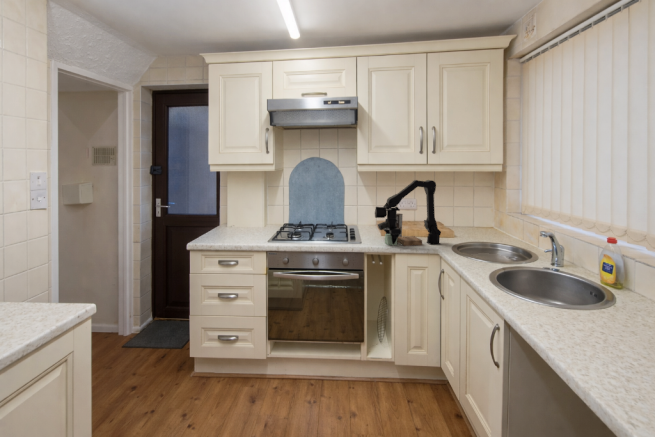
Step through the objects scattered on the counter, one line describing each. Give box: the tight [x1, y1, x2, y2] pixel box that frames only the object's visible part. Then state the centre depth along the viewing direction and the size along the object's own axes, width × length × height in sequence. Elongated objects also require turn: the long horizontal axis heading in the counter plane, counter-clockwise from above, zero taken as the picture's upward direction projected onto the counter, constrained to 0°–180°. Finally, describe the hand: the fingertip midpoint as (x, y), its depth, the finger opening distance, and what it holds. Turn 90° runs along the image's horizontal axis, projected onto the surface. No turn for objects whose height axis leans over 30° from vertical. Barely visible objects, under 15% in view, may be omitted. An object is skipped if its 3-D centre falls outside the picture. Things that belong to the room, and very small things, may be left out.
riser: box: [397, 235, 423, 247], centre depth 225 cm, size 12×12×3 cm
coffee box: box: [396, 213, 403, 237], centre depth 242 cm, size 9×6×16 cm
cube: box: [384, 233, 398, 246], centre depth 223 cm, size 6×6×6 cm
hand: (390, 242), depth 223 cm, fingers open, 9 cm apart
